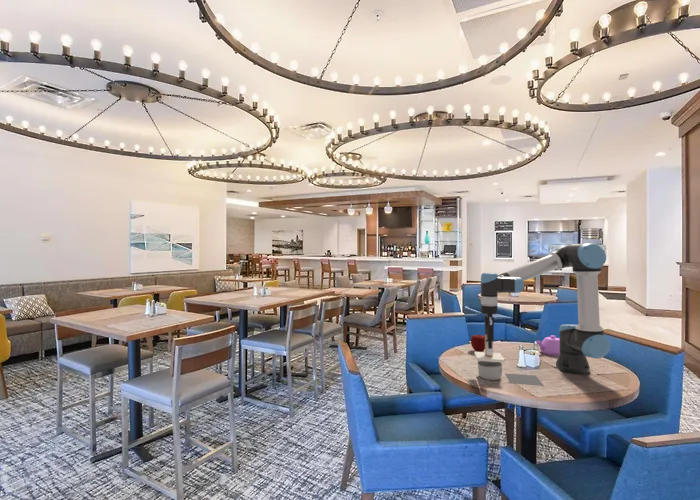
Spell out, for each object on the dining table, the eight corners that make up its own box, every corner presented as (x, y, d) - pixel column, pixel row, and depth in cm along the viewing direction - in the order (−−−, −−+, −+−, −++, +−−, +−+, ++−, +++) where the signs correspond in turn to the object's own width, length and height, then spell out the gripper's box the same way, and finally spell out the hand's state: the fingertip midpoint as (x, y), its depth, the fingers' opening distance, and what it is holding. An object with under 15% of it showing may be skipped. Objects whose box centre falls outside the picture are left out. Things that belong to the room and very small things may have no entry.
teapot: (529, 351, 227) (529, 333, 227) (557, 349, 230) (557, 332, 230) (545, 357, 213) (545, 339, 213) (575, 355, 217) (575, 337, 217)
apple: (485, 354, 220) (485, 337, 220) (468, 351, 225) (468, 335, 225) (488, 350, 228) (488, 334, 228) (473, 348, 233) (473, 332, 233)
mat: (535, 377, 179) (535, 375, 179) (544, 387, 165) (543, 385, 165) (504, 375, 182) (504, 373, 182) (510, 385, 168) (510, 383, 168)
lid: (500, 355, 182) (500, 332, 182) (504, 362, 171) (504, 338, 171) (474, 353, 185) (474, 331, 185) (477, 360, 173) (477, 336, 173)
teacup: (504, 384, 170) (504, 366, 170) (479, 382, 172) (479, 365, 172) (498, 374, 183) (498, 358, 183) (475, 372, 186) (475, 356, 186)
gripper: (478, 302, 187) (478, 349, 187) (483, 307, 171) (483, 358, 170) (494, 303, 185) (494, 349, 185) (500, 307, 169) (500, 359, 169)
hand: (489, 353), depth 178 cm, fingers closed on lid, 3 cm apart
